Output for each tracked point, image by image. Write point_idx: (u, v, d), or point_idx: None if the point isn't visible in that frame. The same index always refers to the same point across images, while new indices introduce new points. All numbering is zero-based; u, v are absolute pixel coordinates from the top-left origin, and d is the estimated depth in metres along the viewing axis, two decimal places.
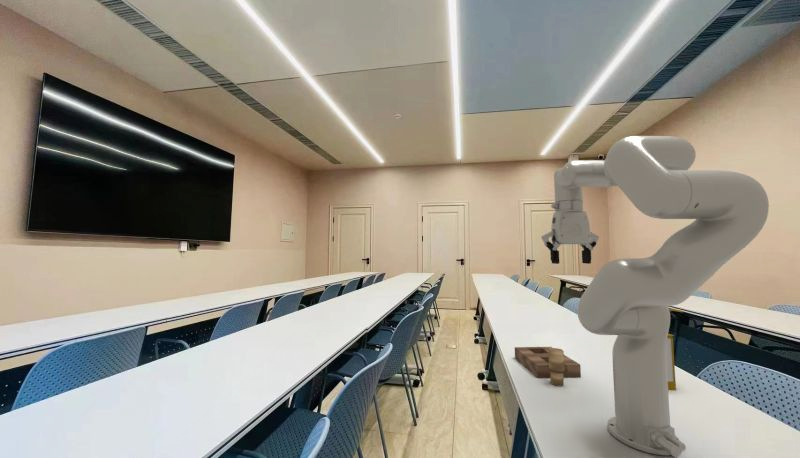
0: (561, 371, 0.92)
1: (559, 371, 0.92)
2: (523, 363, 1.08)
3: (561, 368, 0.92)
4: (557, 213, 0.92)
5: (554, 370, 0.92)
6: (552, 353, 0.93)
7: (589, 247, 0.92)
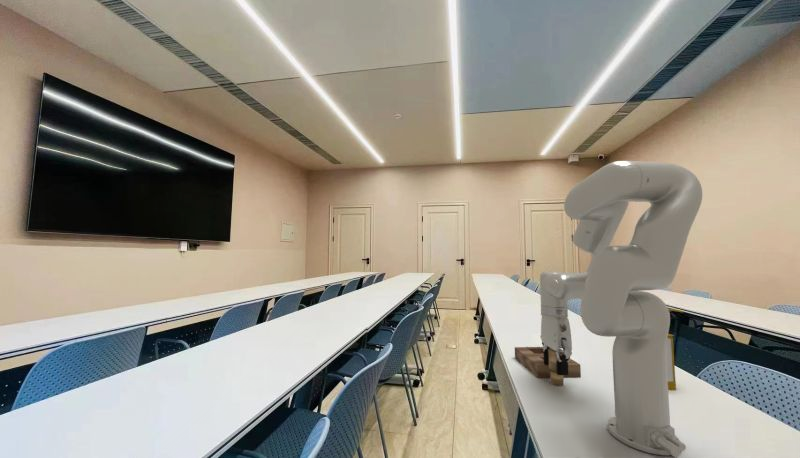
0: None
1: None
2: (523, 363, 1.08)
3: None
4: (566, 320, 0.91)
5: (554, 370, 0.92)
6: (552, 353, 0.93)
7: None
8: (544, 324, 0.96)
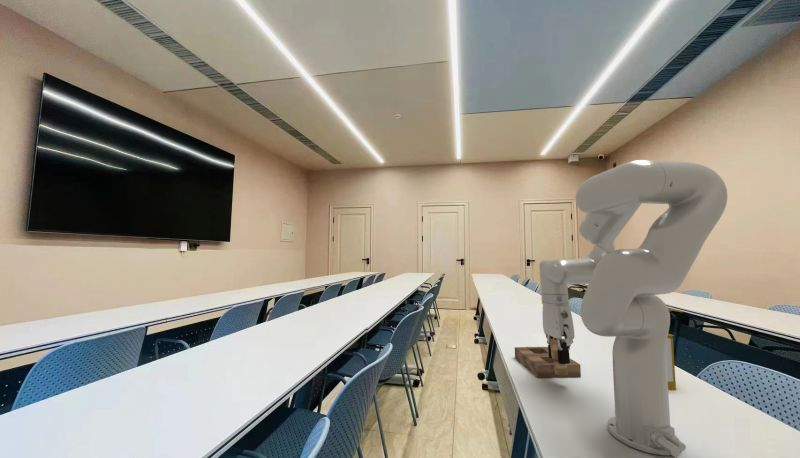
0: None
1: None
2: (523, 363, 1.08)
3: None
4: (568, 307, 0.90)
5: (557, 359, 0.91)
6: (553, 341, 0.92)
7: None
8: (545, 313, 0.95)
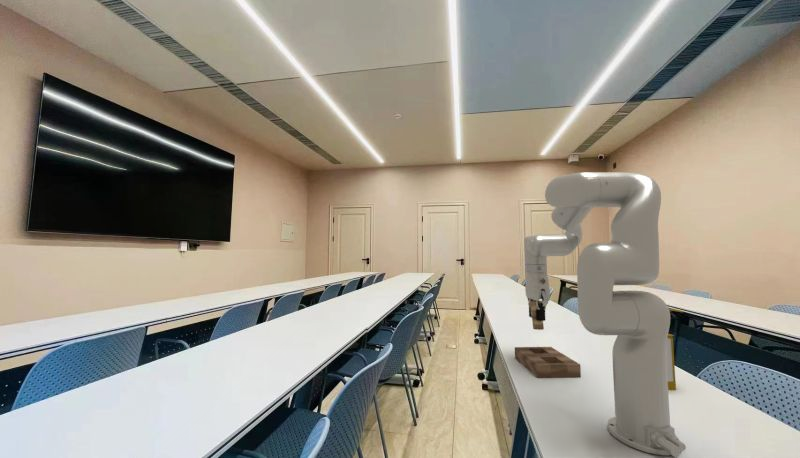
0: None
1: None
2: (523, 363, 1.08)
3: None
4: (545, 275, 1.09)
5: (535, 316, 1.11)
6: (533, 302, 1.12)
7: None
8: (527, 280, 1.14)
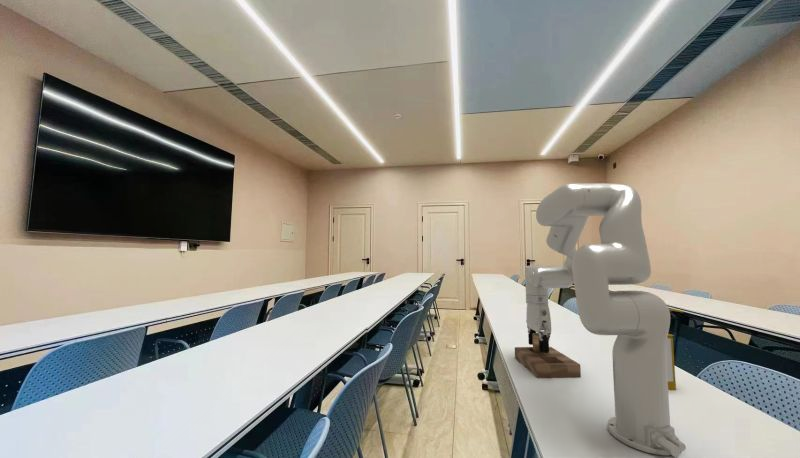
0: (543, 352, 1.09)
1: (541, 352, 1.09)
2: (523, 363, 1.08)
3: None
4: (547, 306, 1.08)
5: (537, 351, 1.09)
6: (535, 336, 1.10)
7: None
8: (529, 310, 1.13)
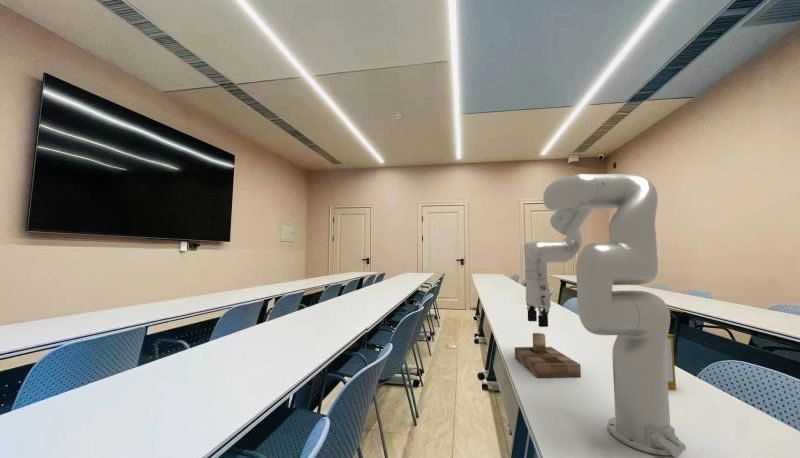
0: (543, 352, 1.09)
1: (541, 352, 1.09)
2: (523, 363, 1.08)
3: (543, 349, 1.09)
4: (546, 282, 1.08)
5: (537, 351, 1.09)
6: (535, 336, 1.10)
7: None
8: (528, 286, 1.14)
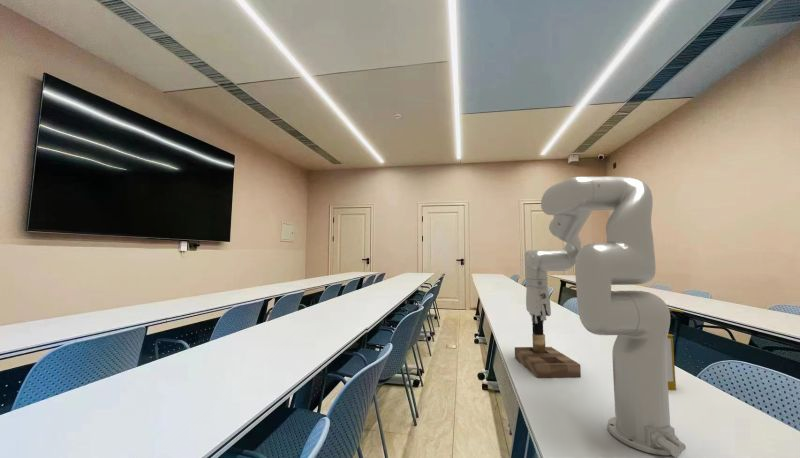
0: (543, 352, 1.09)
1: (541, 352, 1.09)
2: (523, 363, 1.08)
3: (543, 349, 1.09)
4: (546, 290, 1.08)
5: (537, 351, 1.09)
6: (535, 336, 1.10)
7: None
8: (528, 294, 1.14)
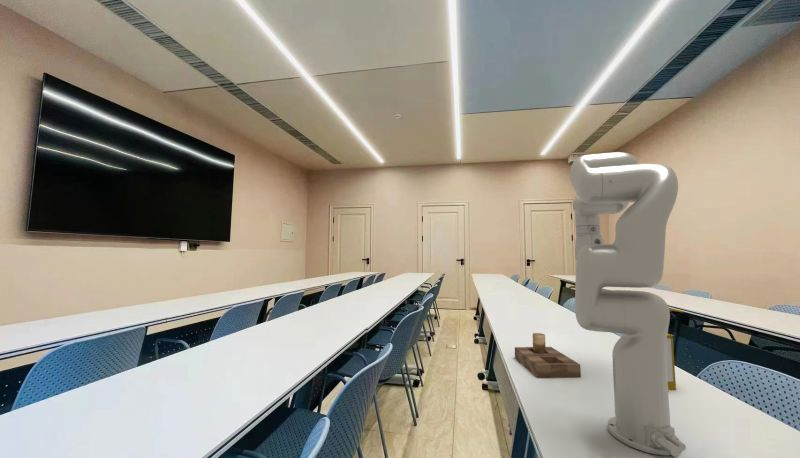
0: (543, 352, 1.09)
1: (541, 352, 1.09)
2: (523, 363, 1.08)
3: (543, 349, 1.09)
4: (600, 236, 1.04)
5: (537, 351, 1.09)
6: (535, 336, 1.10)
7: None
8: (579, 243, 1.09)
